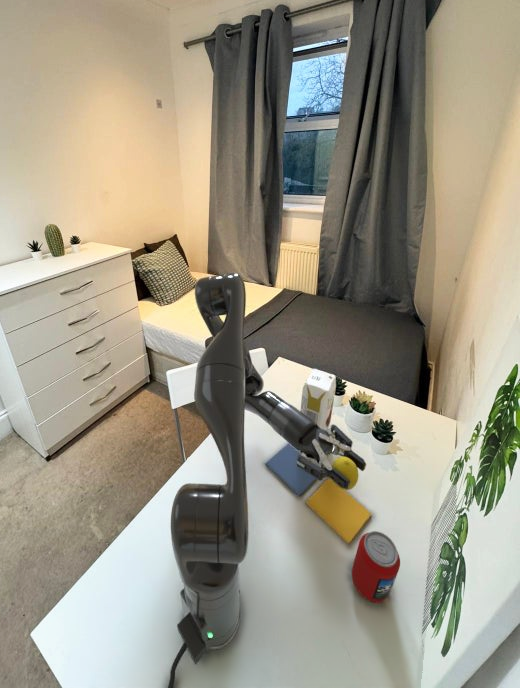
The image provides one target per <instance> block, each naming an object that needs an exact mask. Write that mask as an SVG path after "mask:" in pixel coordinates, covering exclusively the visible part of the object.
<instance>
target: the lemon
mask: <svg viewBox="0 0 520 688" xmlns="http://www.w3.org/2000/svg"><path fill="white" fill-rule="evenodd" d="M331 466H332V469H334V468H335V469H336V470H338V471H339V472H340V473H341V474H342V475H344V476H345V477H346V478H347V479H348V480H349V481H350V486H349V488H348V489H345V488H341V487H340V486H339V485H337V484H336V483H335V482H334V481H333V480H332V479H331V480H332V481H333V482H334V484H335V485H336V486H337V487H338V488H340V489H342V490H344V491H349V490H352V489H354V488H355V486H356V485H357V484H358V482H359V468H357V466H356V464H355V463H354V462H353V461H352V460H351V459H349V458H347V457H343V456H339V457H337V458H335V459H334V460H333V462H332V464H331Z"/></svg>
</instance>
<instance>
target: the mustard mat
mask: <svg viewBox="0 0 520 688" xmlns="http://www.w3.org/2000/svg"><path fill="white" fill-rule="evenodd" d="M305 504H306V505H307V506H308V507H309V508H310V509H311V510H313V511H314V512H315V513H316V515H318V516H319V517H320V518H321V519H322V521H324V522H325V523H326V524H327V525H328V526H329V527H330V528H331V529H332V530H333V531H334V532H335V533H336V534H338V536H339V537H340V538H342V539H343V540H344V541H345V543H347V544H348V545H350V544H351V542H352V541H353V540H354V538H355V537H356V536H357V534H358V533H359V532H360V530H361V529H362V528H363V526H364V525H365V523H367V521H368V520H369V518H370V517H371V516H372V513H371V512H370V511H369V510H368V509H367V508H366V507H364V506H363V505H362V504H360V502H358V501H357V499H354V497H352V496H351V495H350V494H349V493H347V492H346V490H342V489H340V488H338V487H337V486H336V485H335V484H334V482H333V481H332V479H330V478H328V477H327V479H326V480H325V481H324V482H323V483H322V485H321V486H320V487H318V489H316V491H315V492H314V493H313V494H312V495H311V496H310V497H309V498H308V499H307V501H305Z"/></svg>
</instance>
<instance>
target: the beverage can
mask: <svg viewBox="0 0 520 688" xmlns="http://www.w3.org/2000/svg"><path fill="white" fill-rule="evenodd" d="M400 567H401V557H400V554H399V551H398V549H397V546H396V545H395V543H394V541H393V540H392V538H390V537H389V536H388V535H386V534H385V533H383V532H380V531H376V530H373V531H370V532H366V533H364V534H363V535H362V536H361V537H360V539H359V542H358V545H357V549H356V552H355V556H354V560H353V563H352V568H351V579H352V581H353V582H352V583H353V585H354V587H355V588H356V590H357V591H358V593H359V595H361V596H362V597H363V598H364V599H366V600H368V601H369V602H372V603H377V604H380V603H383V602H385V601H386V600H387V599H388V597H389V595H390V593H391V591H392V589H393V586H394V583H395V581H396V578H397V576H398V573H399V570H400Z"/></svg>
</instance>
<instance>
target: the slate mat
mask: <svg viewBox="0 0 520 688" xmlns="http://www.w3.org/2000/svg"><path fill="white" fill-rule="evenodd" d="M298 455H301V452H300V451H298V450H297V449H295V448H294V447H293V446H292V445H291V444H290V443H287V444H286V445H285V446H284V447H282V448H281V449H280V450H279V451H278V452H276V453H275V454H274V455H272V457H271V458H270V459H268V460H267V461H266V462H265V465H266V467H268V468H269V469H270V470H271V471H272V472H273V473H274V474H275V475H276V476H277V477H278V478H280V480H281V481H282V482H283V483H284V484H285V485H287V487H289V489H291V491H293V492H294V493H295V494H296V495H297V497H300V496H301V495H302V494H303V493H304V492H306V490H307V489H308V488H310V486H311V485H312V484H313V483H314V482H315V481H316V480H317V479H316V478H315V477H313V476H312V475H310V474H309V473H307V472H306V471H304V470H303V469H301V468H299V467H298V466H297V456H298Z"/></svg>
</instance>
